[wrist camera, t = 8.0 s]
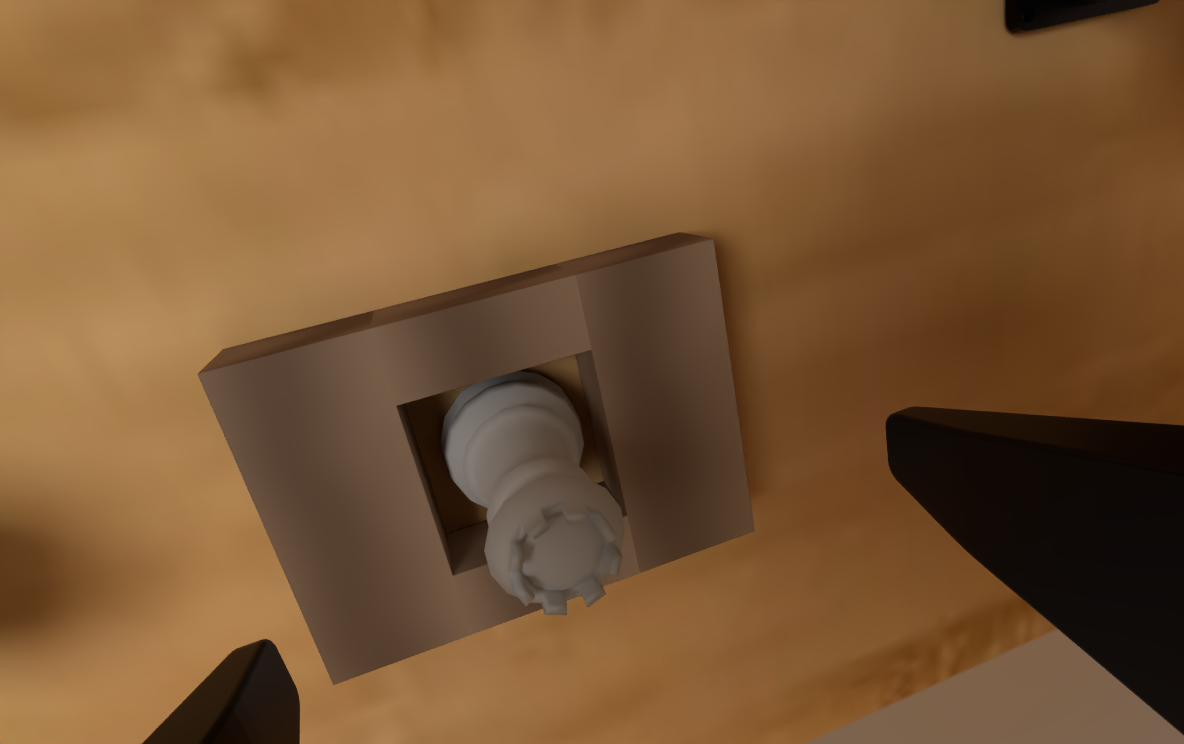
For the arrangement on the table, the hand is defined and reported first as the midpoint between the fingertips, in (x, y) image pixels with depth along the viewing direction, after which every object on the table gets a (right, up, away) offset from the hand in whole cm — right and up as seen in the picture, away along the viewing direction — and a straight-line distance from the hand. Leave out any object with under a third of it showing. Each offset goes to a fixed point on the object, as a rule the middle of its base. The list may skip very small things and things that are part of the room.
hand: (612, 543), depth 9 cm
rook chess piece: (-3, 0, +13) cm, 13 cm away
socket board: (-3, 0, +12) cm, 13 cm away
